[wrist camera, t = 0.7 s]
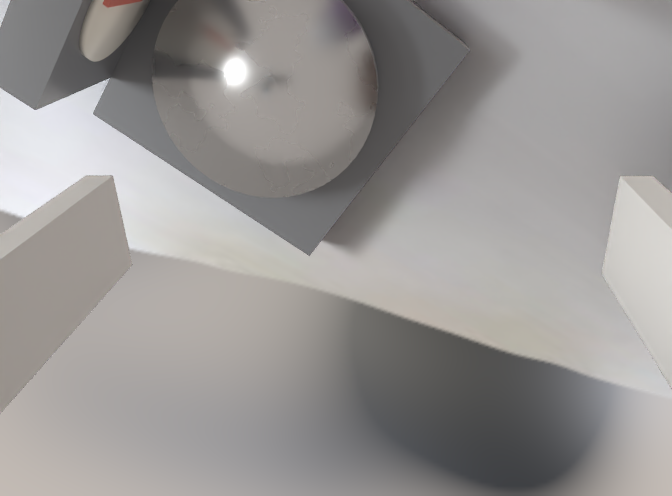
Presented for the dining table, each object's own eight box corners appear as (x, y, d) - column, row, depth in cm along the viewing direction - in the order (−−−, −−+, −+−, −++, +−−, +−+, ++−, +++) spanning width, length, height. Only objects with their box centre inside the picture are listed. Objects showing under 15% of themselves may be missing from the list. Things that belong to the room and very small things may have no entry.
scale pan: (129, 108, 39) (115, 116, 37) (231, -90, 33) (221, -92, 31) (301, 222, 42) (296, 235, 40) (423, 58, 36) (425, 64, 34)
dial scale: (74, 79, 42) (-35, 122, 31) (190, -173, 34) (96, -229, 24) (314, 238, 46) (289, 324, 35) (465, 43, 38) (490, 78, 28)
